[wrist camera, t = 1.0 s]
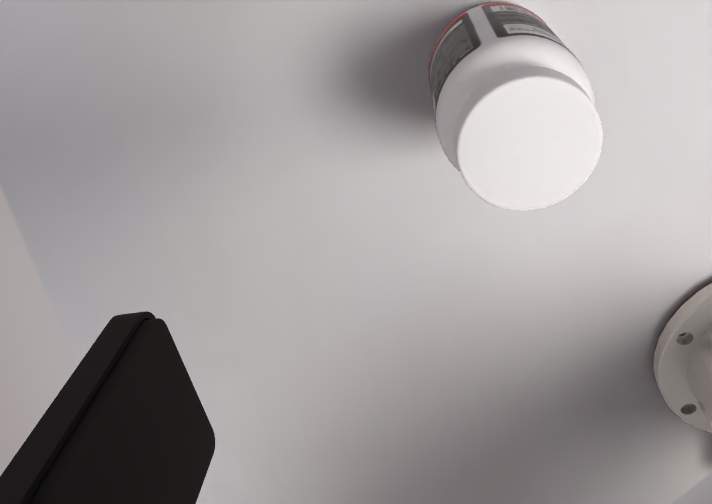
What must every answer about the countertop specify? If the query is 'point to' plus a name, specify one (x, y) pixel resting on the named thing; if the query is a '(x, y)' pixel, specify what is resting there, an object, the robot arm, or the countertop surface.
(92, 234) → the countertop surface
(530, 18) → the pill bottle
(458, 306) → the countertop surface
